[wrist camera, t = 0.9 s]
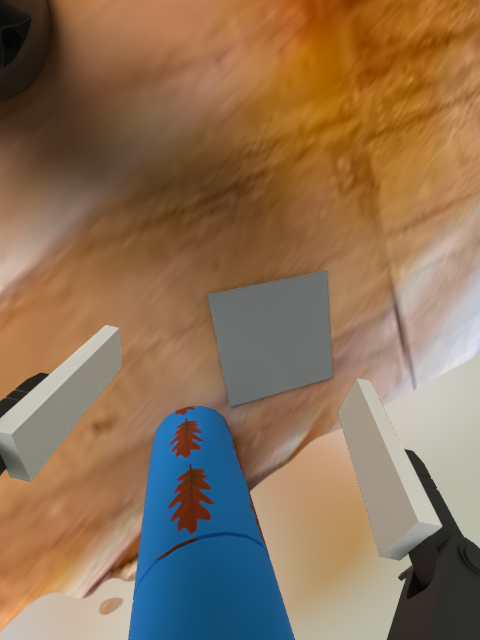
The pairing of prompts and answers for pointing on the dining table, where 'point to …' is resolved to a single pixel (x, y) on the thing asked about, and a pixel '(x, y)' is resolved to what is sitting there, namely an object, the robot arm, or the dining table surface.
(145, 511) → the thermos
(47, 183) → the dining table surface
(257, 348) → the slate tile
